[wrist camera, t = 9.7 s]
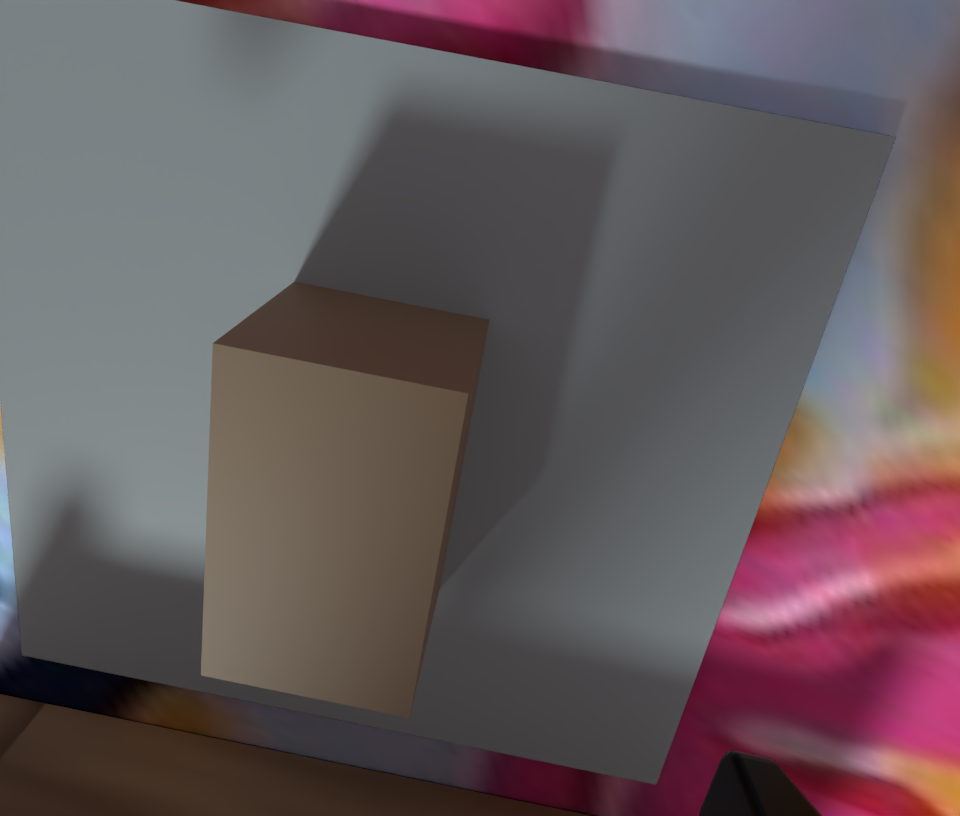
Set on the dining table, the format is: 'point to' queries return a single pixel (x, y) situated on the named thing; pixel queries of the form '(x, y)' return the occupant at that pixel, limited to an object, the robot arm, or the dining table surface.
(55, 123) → the lid
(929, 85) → the dining table surface
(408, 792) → the walnut box
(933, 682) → the dining table surface
